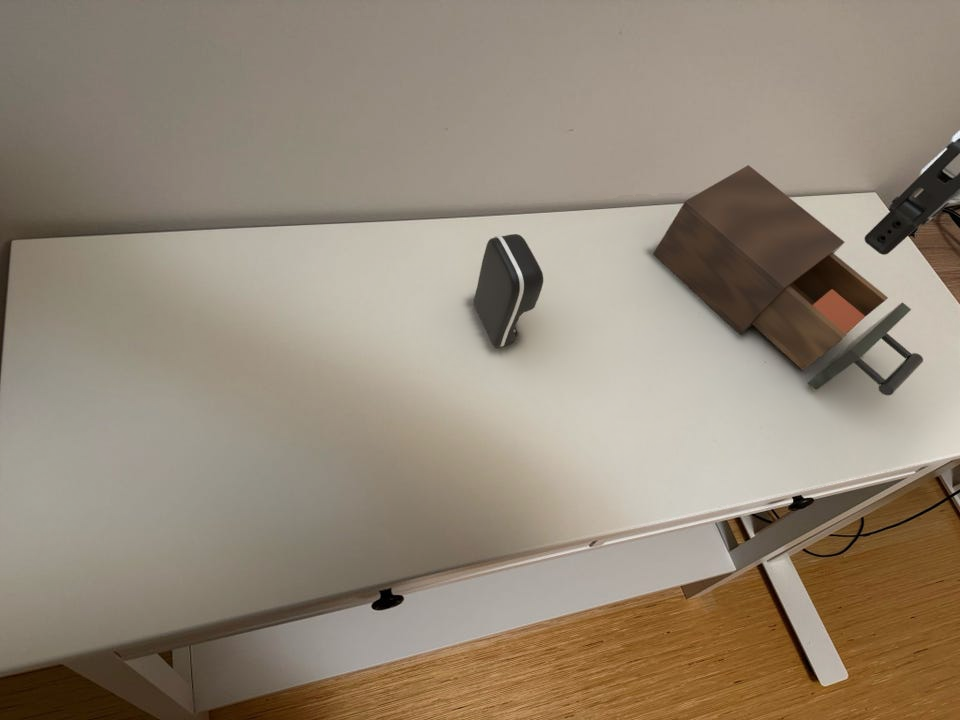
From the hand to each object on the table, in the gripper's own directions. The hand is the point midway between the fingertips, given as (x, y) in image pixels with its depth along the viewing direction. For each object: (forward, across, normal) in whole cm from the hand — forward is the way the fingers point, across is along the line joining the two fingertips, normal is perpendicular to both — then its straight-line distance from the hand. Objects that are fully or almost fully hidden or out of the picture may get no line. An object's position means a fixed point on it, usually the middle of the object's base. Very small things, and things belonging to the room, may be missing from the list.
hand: (899, 227), depth 50 cm
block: (+20, +7, -2) cm, 21 cm away
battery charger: (+22, -23, +21) cm, 38 cm away
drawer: (+21, +8, -2) cm, 22 cm away
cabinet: (+22, +7, +11) cm, 25 cm away
